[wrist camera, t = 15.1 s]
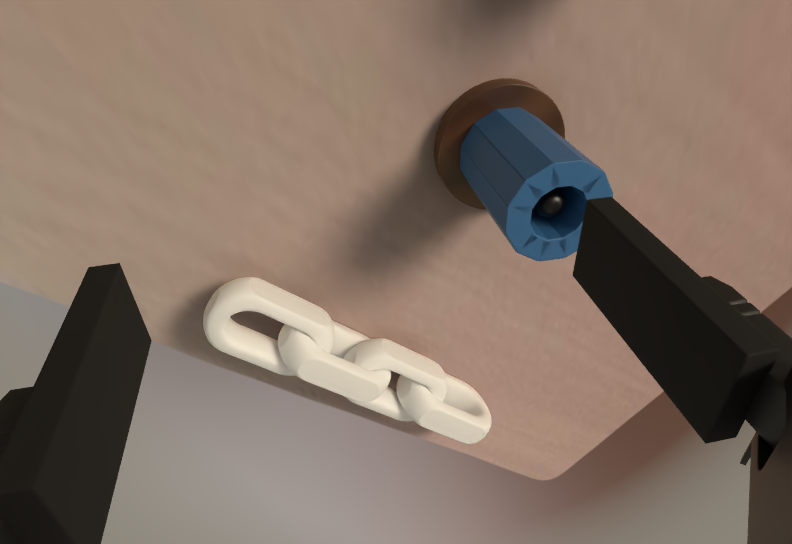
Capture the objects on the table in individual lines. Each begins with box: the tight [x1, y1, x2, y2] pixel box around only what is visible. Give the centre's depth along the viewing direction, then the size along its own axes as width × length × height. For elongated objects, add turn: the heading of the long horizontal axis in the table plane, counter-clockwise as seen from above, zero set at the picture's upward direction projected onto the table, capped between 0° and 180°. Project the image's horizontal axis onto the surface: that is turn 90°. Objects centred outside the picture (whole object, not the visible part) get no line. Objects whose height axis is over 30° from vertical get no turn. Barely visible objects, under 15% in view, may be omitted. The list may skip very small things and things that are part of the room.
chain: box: [203, 277, 491, 444], centre depth 49 cm, size 30×6×6 cm, turn 52°
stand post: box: [533, 187, 565, 217], centre depth 37 cm, size 2×2×10 cm
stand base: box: [434, 79, 565, 209], centre depth 42 cm, size 10×10×2 cm
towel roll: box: [460, 107, 613, 261], centre depth 37 cm, size 7×7×10 cm
